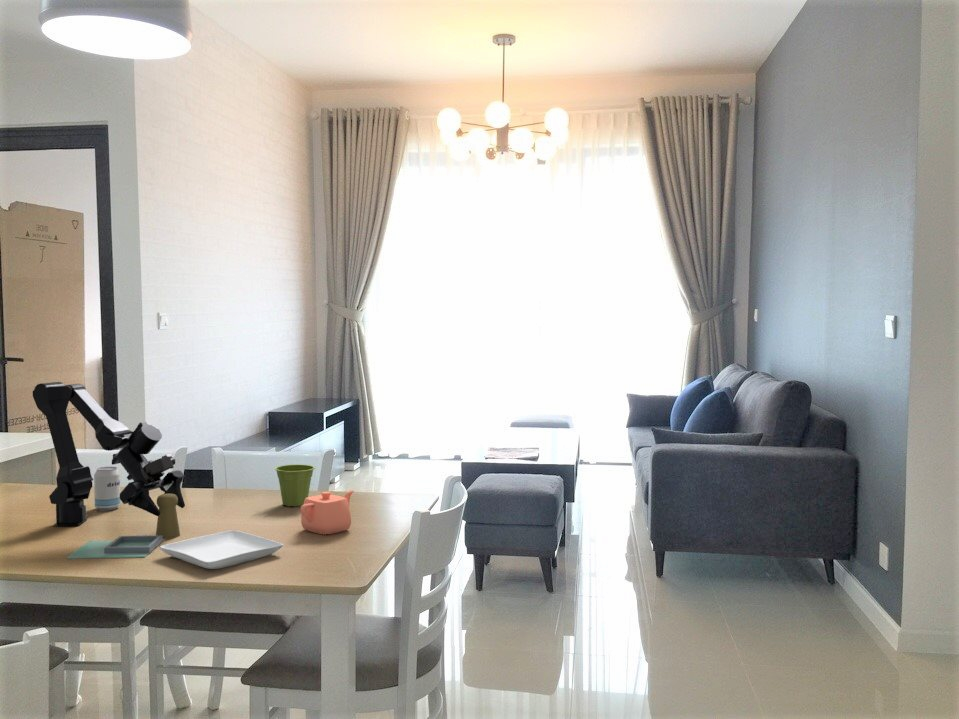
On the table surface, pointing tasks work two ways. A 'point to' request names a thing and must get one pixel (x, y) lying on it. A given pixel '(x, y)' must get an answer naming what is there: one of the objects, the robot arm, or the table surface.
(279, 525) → the table surface
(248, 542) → the salad plate
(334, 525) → the teapot
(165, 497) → the cork
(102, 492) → the beverage can
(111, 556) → the board
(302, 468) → the plant pot
